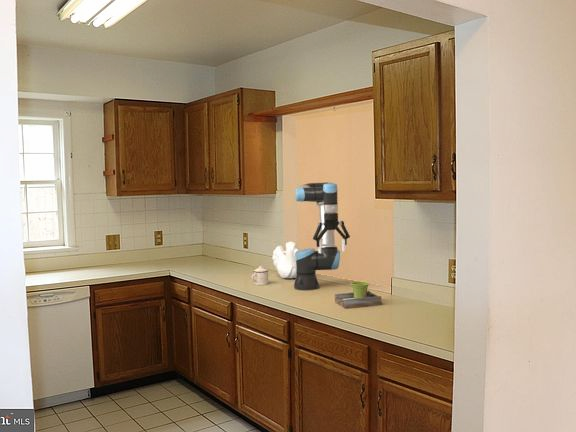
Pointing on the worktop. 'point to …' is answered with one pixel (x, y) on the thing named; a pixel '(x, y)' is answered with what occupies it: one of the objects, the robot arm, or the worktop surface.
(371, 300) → the dock
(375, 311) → the worktop surface
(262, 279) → the teacup with lid
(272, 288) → the worktop surface
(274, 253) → the decorative rooster
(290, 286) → the worktop surface
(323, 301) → the worktop surface
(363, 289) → the plant pot
